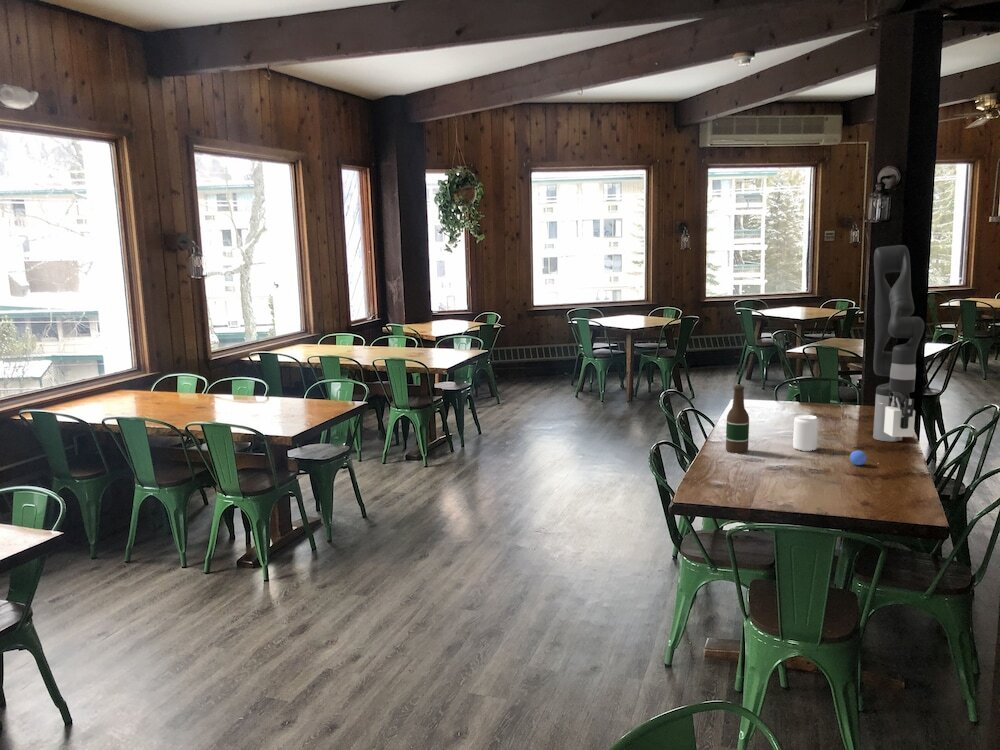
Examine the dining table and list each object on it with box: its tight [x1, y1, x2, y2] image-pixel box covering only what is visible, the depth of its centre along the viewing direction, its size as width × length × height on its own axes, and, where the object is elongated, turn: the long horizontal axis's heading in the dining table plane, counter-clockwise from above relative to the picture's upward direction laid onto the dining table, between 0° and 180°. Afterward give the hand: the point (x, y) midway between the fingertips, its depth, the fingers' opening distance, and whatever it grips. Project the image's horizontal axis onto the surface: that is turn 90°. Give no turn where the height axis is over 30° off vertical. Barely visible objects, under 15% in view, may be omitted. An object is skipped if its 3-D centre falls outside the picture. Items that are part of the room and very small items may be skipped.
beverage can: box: [792, 414, 819, 452], centre depth 293 cm, size 8×8×12 cm
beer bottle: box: [725, 385, 750, 454], centre depth 290 cm, size 8×8×24 cm
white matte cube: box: [884, 406, 916, 438], centre depth 269 cm, size 7×7×9 cm
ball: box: [849, 449, 867, 466], centre depth 272 cm, size 5×5×5 cm
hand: (899, 425), depth 270 cm, fingers closed on white matte cube, 7 cm apart
